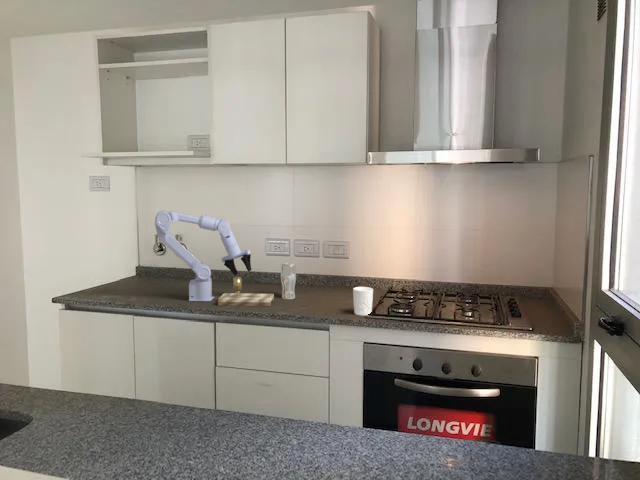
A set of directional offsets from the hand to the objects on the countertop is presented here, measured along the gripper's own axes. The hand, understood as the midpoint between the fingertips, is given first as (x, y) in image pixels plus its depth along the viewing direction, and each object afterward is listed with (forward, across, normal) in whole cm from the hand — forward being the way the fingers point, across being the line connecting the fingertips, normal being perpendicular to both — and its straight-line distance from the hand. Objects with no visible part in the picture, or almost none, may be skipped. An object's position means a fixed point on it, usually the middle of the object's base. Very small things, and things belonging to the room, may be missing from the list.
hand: (243, 272), depth 234 cm
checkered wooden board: (+10, -3, +11) cm, 16 cm away
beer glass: (+18, -14, -4) cm, 23 cm away
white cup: (+27, -53, +12) cm, 60 cm away
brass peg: (+10, +6, +3) cm, 12 cm away
